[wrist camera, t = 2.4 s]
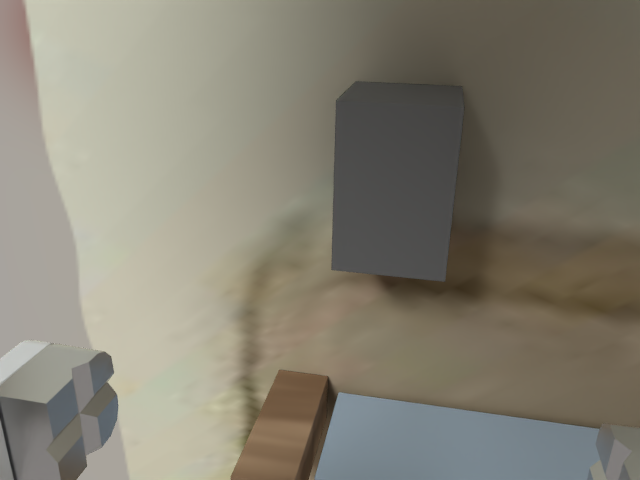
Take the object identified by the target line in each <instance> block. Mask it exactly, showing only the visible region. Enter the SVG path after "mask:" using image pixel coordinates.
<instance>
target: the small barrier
mask: <svg viewBox="0 0 640 480" xmlns="http://www.w3.org/2000/svg"><path fill="white" fill-rule="evenodd" d="M327 388H328V376H321V375H313V374H306V373H299V372H291V371H284V370H279V372H278V374H277V376H276V378H275V380H274V383H273V385H272V387H271V389H270V391H269V394H268V396H267V398H266V400H265V402H264V405H263V407H262V409H261V411H260V413H259V416H258V418H257V420H256V422H255V424H254V427H253V429H252V431H251V433H250V435H249V438H248V440H247V442H246V444H245V446H244V449H243V451H242V453H241V455H240V457H239V460H238V462H237V464H236V466H235V468H234V471H233V473H232V475H231V480H308V479H309V476H310V472H311V469H312V466H313V462H314V459H315V455H316V452H317V448H318V445H319V442H320V438H321V435H322V431H323V428H324V425H325V421H326V418H327Z"/></svg>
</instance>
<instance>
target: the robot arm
mask: <svg viewBox="0 0 640 480" xmlns="http://www.w3.org/2000/svg"><path fill="white" fill-rule="evenodd" d="M113 374H114V370H113V364H112V358H111V356H110V355H108V354H107V353H106V352H104V351H98V350H92V349H86V348H80V347H74V346H67V345H62V344H53V343H49V342H42V341H35V340H28V341H22V342H21V343H20V344H19V345H17V346H16V347H15V348H13V349H12V350H11V351H9V352H8V353H7V354H6V355H4V356H3V357H2V358H0V480H76V479H77V478H78V477H79V476H80V474H81V473H82V472H83V471H84V469H85V468H86V467H87V460H86V455H88V454H90V453H92V452H94V451H96V450H98V449H100V448H102V446H103V445H104V443H105V442H106V441H107V440H108V438H109V437H110V436H111V434H112V431H113V428H114V426H115V423H116V421H117V414H118V399H117V394H116V392H115V391H114V390H113V389H112V387H111V386H110V385H109V383H108V381H109V379H110V378H111V377H112V375H113ZM596 448H597V451H598V454H599V457H600V460H599V461H598V462H596V463H595V464H594V465H592V466H591V467H590V468H589V473H588V478H587V480H640V427H632V426H625V425H617V424H610V423H603V424H602V426H601V428H600V430H599V432H598V436H597V440H596Z"/></svg>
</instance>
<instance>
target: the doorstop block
mask: <svg viewBox="0 0 640 480" xmlns="http://www.w3.org/2000/svg"><path fill="white" fill-rule="evenodd" d="M464 108H465V107H464V98H463V90H462V86H446V85H424V84H402V83H381V82H359V81H356V82H355V83H354V84H353V85H352V86H351V87H350V88H349V89H348V90H347V91H346V92H344V93H343V94H342V95H341V96H340V97H339V98H338V99H337V100H336V125H335V162H334V198H333V235H332V270H337V271H347V272H356V273H366V274H376V275H385V276H395V277H404V278H414V279H424V280H433V281H443V282H445V278H446V269H447V260H448V251H449V242H450V233H451V224H452V215H453V206H454V197H455V188H456V179H457V170H458V161H459V152H460V143H461V134H462V126H463V117H464Z"/></svg>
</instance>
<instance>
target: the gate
mask: <svg viewBox="0 0 640 480" xmlns="http://www.w3.org/2000/svg"><path fill="white" fill-rule="evenodd" d="M599 430H600V429H596V428H589V427H582V426H575V425H568V424H561V423H554V422H547V421H539V420H532V419H525V418H518V417H511V416H504V415H497V414H490V413H482V412H475V411H468V410H461V409H454V408H447V407H440V406H433V405H426V404H418V403H411V402H404V401H397V400H390V399H383V398H376V397H369V396H361V395H354V394H347V393H340V392H339V393H338V397H337V400H336V404H335V407H334V411H333V414H332V418H331V422H330V425H329V429H328V432H327V436H326V439H325V443H324V447H323V450H322V454H321V457H320V461H319V464H318V468H317V472H316V475H315V480H587V478H588V473H589V468H590V467H591V466H592V465H594V464H595V463H596V462H598V461H599V460H600V457H599V454H598V451H597V448H596V440H597V436H598V432H599Z"/></svg>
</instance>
